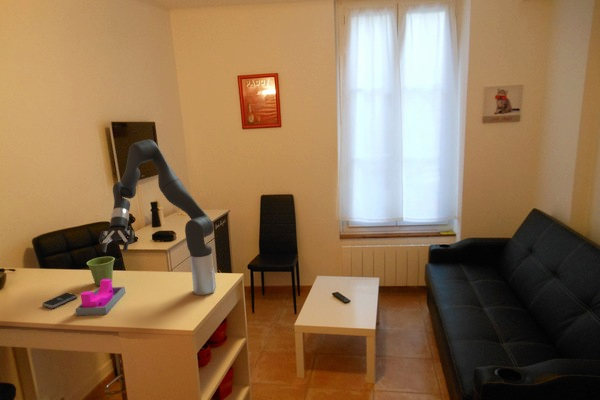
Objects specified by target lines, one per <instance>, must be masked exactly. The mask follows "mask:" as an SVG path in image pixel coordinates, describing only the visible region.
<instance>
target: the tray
mask: <svg viewBox="0 0 600 400" xmlns="http://www.w3.org/2000/svg"><path fill="white" fill-rule="evenodd" d="M99 288H100V287H97V289H95V290H94V291H93V292H94V294H95V295H96V294H97V293H98V291H99ZM112 288H113V296H112V299H111V300H110V301H109V302H108V303H107V304H106V305H105V306H104V307H88V308H83V307H82V302H81V303H80V304H79V305H78V306H77V307H76V308H75V315H76V317H83V316H85V317H86V316H100V315H101V316H102V315H105V316H106V315H108V314H109V312H110V311H111V310H112V309H113V308H114V307H115V306H116V305H117V303H118V302H119V301H120V300H121V299H122V298H123V297H124V295H125V294H126V287H125V286H115V287H113V286H112Z"/></svg>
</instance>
